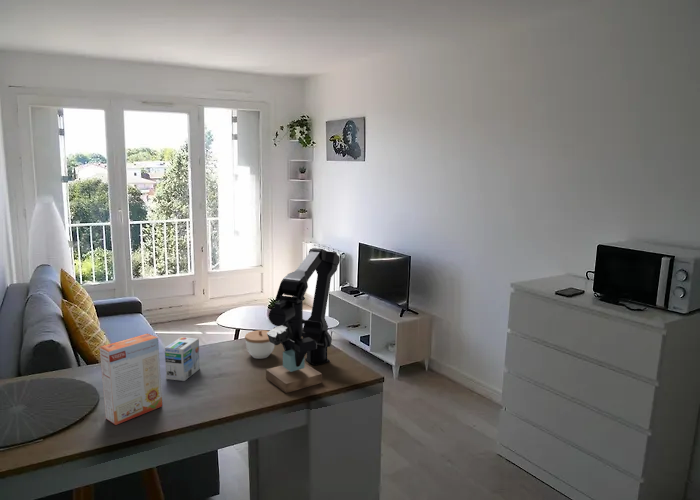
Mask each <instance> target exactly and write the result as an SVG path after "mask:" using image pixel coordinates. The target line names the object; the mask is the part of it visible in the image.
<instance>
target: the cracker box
mask: <svg viewBox="0 0 700 500" xmlns="http://www.w3.org/2000/svg"><path fill="white" fill-rule="evenodd" d="M159 349H160V347H159V337H157V336H155V335H152V334H150V333H145V334H140V335H138V336H133V337H130V338H127V339H124V340H123V339H122V340H120V341H116V342H112V343H108V344H105V345H101V346H99V358H100V367H101V368H100V370H101V379H102V381H101V382H102V390H103V399H104V400H103V402H104V413H105V419H106V420H108V421H109V422H110V423H112V424H113V425H115V426H118V425H119V424H123V423H124V422H127V421H130V420H131V419H135V418H137V417H139V416H142V415H145V414H147V413H149V412H152V411H155V410H157V409H159V408H162V407H163V395H162V394H163V393H162V378H161V362H160V350H159Z"/></svg>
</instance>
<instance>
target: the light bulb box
mask: <svg viewBox="0 0 700 500" xmlns="http://www.w3.org/2000/svg"><path fill="white" fill-rule="evenodd" d="M164 358H165V359H164V360H165V378H166V380H172V381H174V380H175V381H181V382H185V381H186V380H188V378H189V379H190V377H191V376H192V375H195V373H197V372H198V371H200V369H201V368H200V367H201V365H200V364H201V363H200V340H199V338H194V337H186V336H185V337H183V336H180V337H179V338H177V339H176V340H174V341H173V342H171V343H169V344H168V345H166V346H165V347H164Z"/></svg>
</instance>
